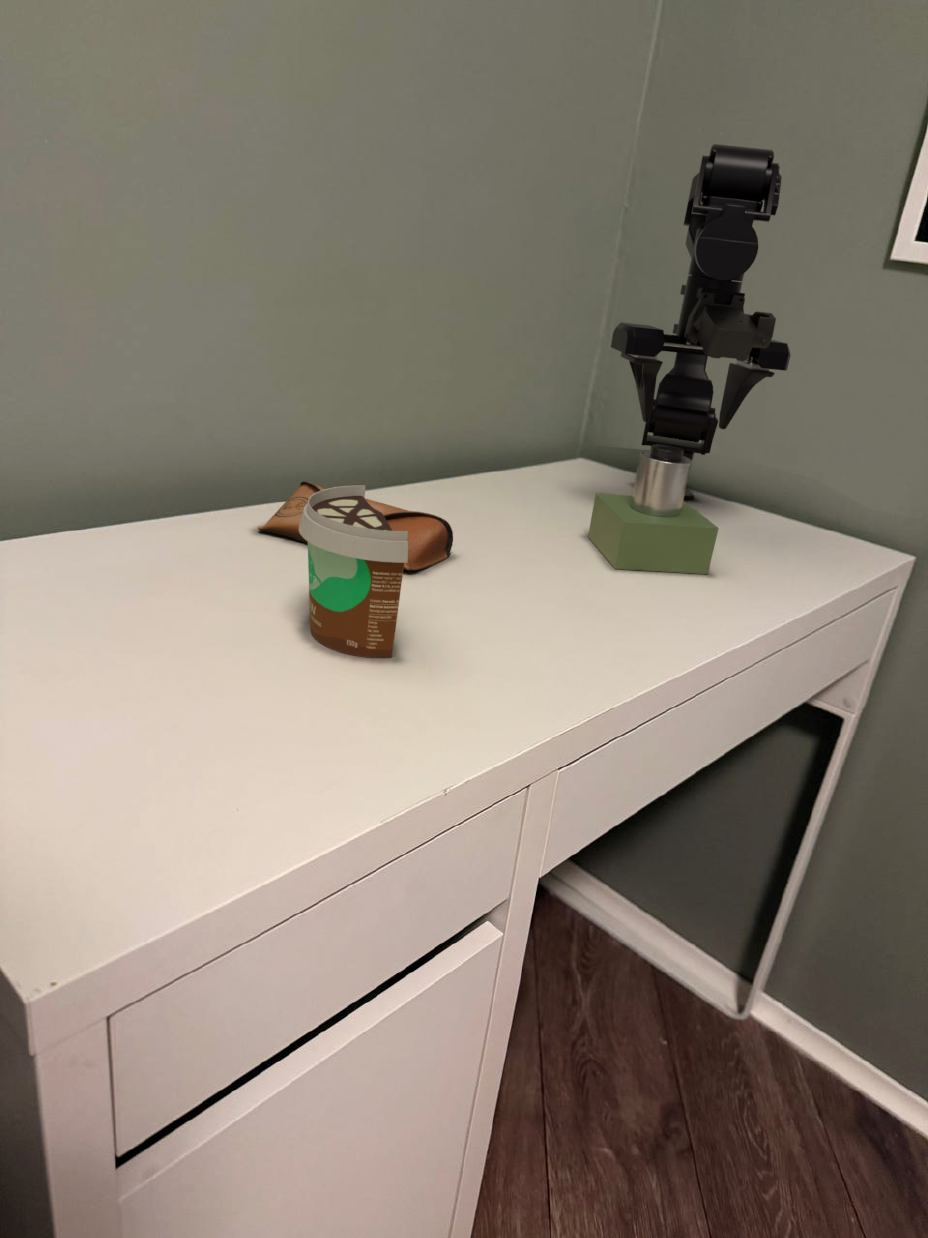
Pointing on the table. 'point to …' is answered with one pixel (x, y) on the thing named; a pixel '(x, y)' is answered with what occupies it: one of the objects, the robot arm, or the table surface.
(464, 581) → the table surface
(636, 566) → the green block
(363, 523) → the food container
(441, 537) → the sunglasses case
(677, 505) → the flask
